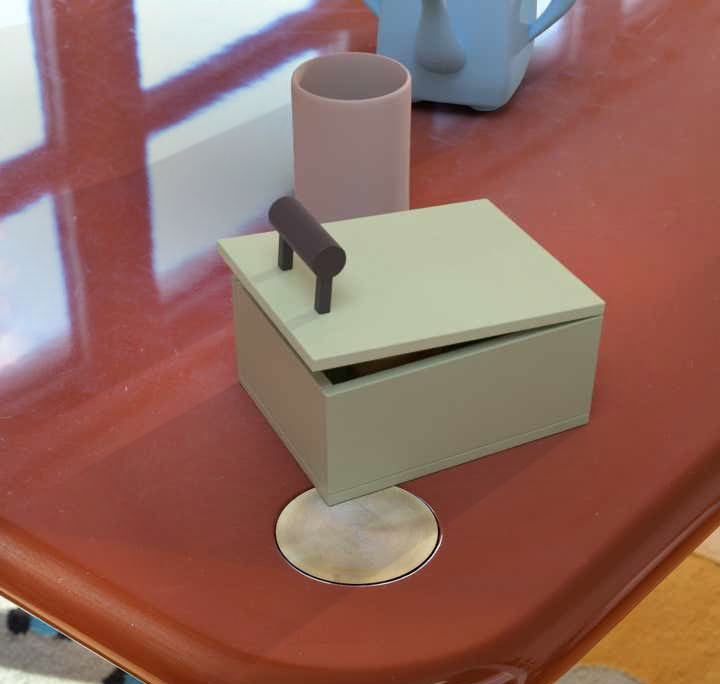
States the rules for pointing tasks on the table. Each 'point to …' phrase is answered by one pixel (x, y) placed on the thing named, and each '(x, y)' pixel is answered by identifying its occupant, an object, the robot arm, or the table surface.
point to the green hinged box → (415, 400)
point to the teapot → (463, 45)
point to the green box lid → (401, 280)
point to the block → (388, 363)
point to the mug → (351, 135)
